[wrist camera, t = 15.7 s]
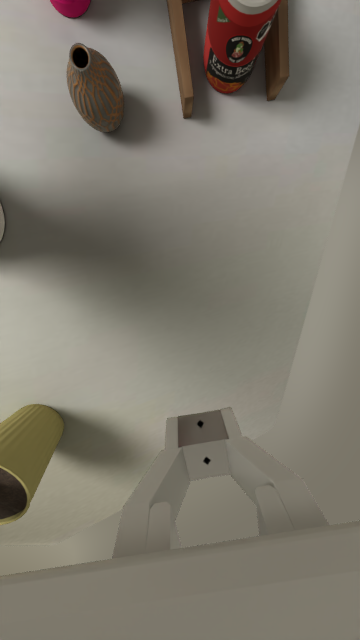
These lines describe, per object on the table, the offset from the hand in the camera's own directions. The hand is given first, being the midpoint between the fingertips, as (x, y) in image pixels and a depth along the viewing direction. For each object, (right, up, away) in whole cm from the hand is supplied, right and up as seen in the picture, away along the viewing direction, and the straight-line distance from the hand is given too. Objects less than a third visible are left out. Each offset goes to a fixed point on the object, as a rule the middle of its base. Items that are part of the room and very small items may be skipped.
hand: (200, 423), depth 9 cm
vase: (-12, +37, +21) cm, 45 cm away
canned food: (+6, +43, +20) cm, 48 cm away
